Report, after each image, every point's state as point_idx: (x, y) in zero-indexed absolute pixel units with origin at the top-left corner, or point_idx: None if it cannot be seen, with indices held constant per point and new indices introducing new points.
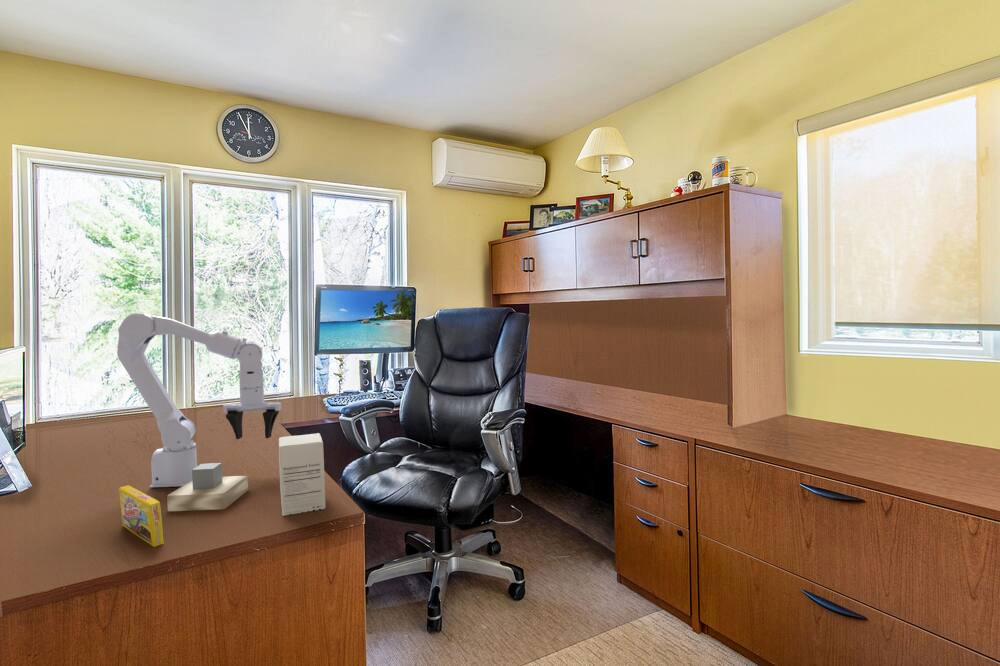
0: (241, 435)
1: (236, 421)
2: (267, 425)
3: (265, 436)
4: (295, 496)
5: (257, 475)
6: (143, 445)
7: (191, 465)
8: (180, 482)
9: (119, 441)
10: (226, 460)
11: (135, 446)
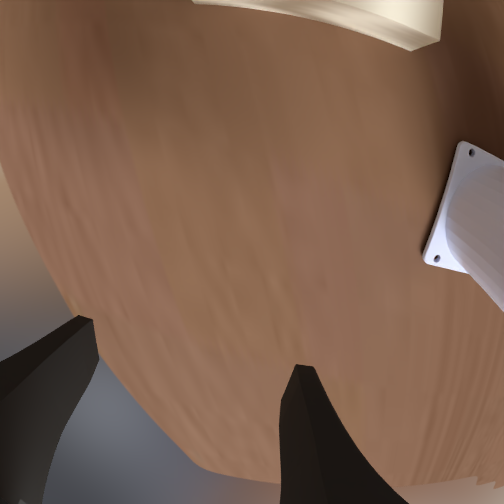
0: (283, 407)
1: (315, 495)
2: (12, 365)
3: (84, 324)
4: None
5: (203, 202)
6: (478, 471)
7: (495, 206)
8: (489, 165)
9: (493, 476)
10: (357, 408)
11: (488, 466)
